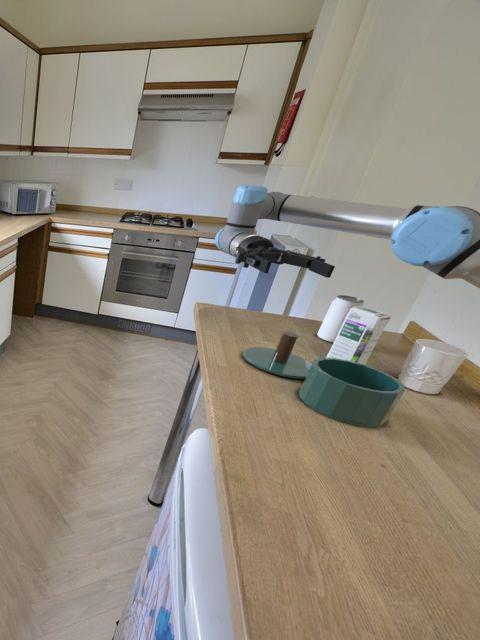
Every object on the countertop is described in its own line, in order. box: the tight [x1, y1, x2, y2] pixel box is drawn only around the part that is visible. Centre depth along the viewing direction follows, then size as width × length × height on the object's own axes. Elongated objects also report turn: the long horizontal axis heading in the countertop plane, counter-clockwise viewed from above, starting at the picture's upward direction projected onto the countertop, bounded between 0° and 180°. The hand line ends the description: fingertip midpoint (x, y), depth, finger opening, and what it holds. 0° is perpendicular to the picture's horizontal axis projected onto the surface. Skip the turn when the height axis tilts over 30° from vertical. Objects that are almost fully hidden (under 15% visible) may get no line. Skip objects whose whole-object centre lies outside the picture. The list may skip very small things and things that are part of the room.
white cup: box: [396, 338, 469, 395], centre depth 90 cm, size 8×8×10 cm
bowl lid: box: [242, 331, 312, 380], centre depth 96 cm, size 15×15×8 cm
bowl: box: [298, 357, 406, 428], centre depth 81 cm, size 14×14×8 cm
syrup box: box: [325, 305, 393, 365], centre depth 96 cm, size 6×6×14 cm
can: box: [316, 294, 365, 344], centre depth 112 cm, size 6×6×12 cm
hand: (299, 269), depth 94 cm, fingers open, 13 cm apart
